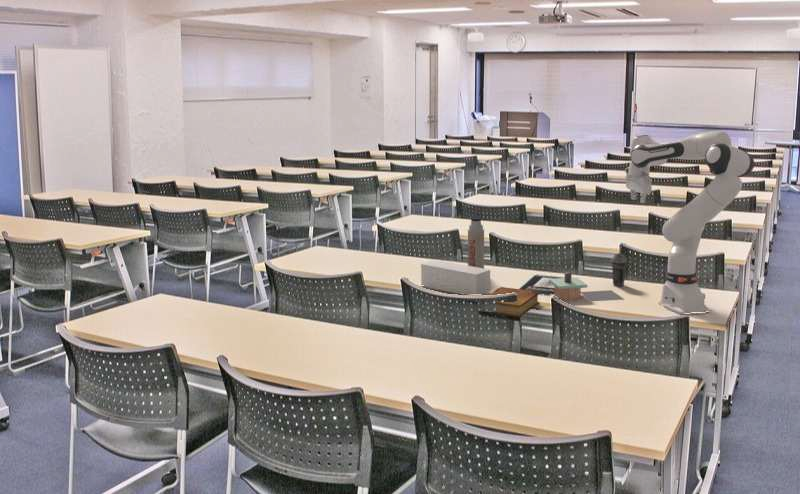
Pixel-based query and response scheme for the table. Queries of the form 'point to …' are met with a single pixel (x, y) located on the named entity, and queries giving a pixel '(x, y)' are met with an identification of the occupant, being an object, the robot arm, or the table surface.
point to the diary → (516, 302)
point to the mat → (601, 295)
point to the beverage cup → (619, 269)
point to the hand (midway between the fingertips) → (637, 201)
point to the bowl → (568, 293)
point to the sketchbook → (540, 284)
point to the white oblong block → (455, 277)
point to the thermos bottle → (476, 243)
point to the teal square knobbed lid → (568, 282)
